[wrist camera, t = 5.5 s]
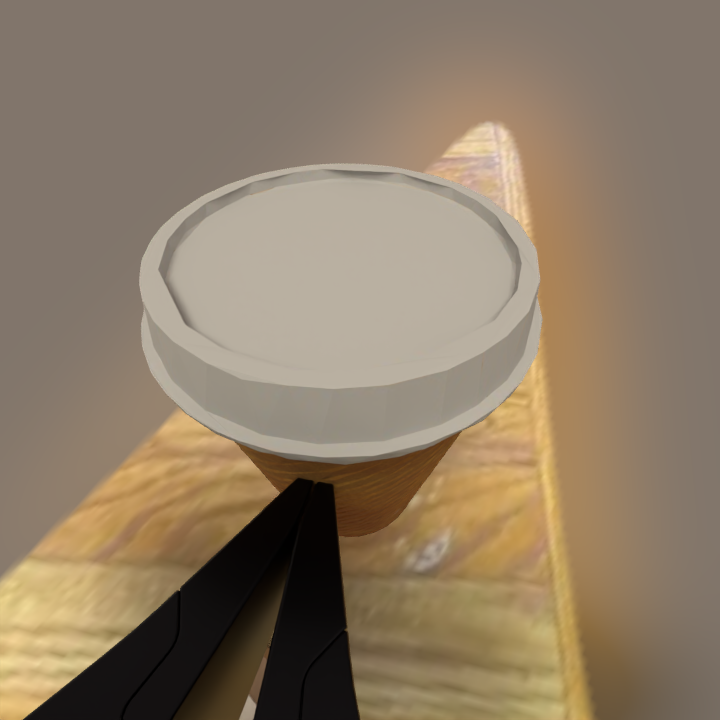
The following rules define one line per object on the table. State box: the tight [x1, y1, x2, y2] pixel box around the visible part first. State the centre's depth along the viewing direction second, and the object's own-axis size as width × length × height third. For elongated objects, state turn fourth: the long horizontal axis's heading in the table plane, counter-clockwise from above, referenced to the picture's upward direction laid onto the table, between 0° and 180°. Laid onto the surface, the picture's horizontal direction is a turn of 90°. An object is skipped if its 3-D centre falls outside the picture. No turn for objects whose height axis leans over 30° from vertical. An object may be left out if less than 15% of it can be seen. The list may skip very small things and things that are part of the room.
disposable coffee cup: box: [139, 164, 542, 537], centre depth 13 cm, size 10×10×12 cm
